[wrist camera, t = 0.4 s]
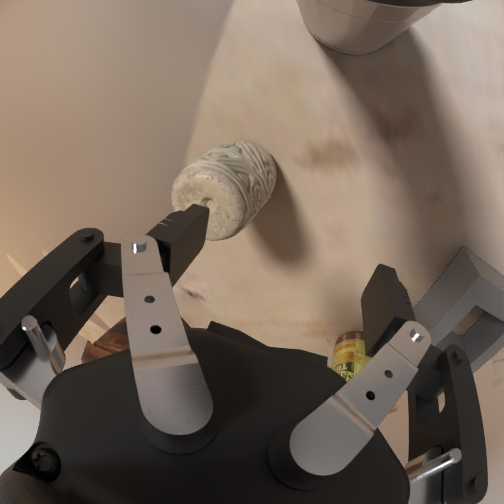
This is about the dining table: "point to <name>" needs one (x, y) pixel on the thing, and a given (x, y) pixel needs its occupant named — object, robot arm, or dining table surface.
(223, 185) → the carving
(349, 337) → the sauce bottle
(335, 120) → the dining table surface
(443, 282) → the bottle socket block
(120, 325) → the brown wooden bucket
